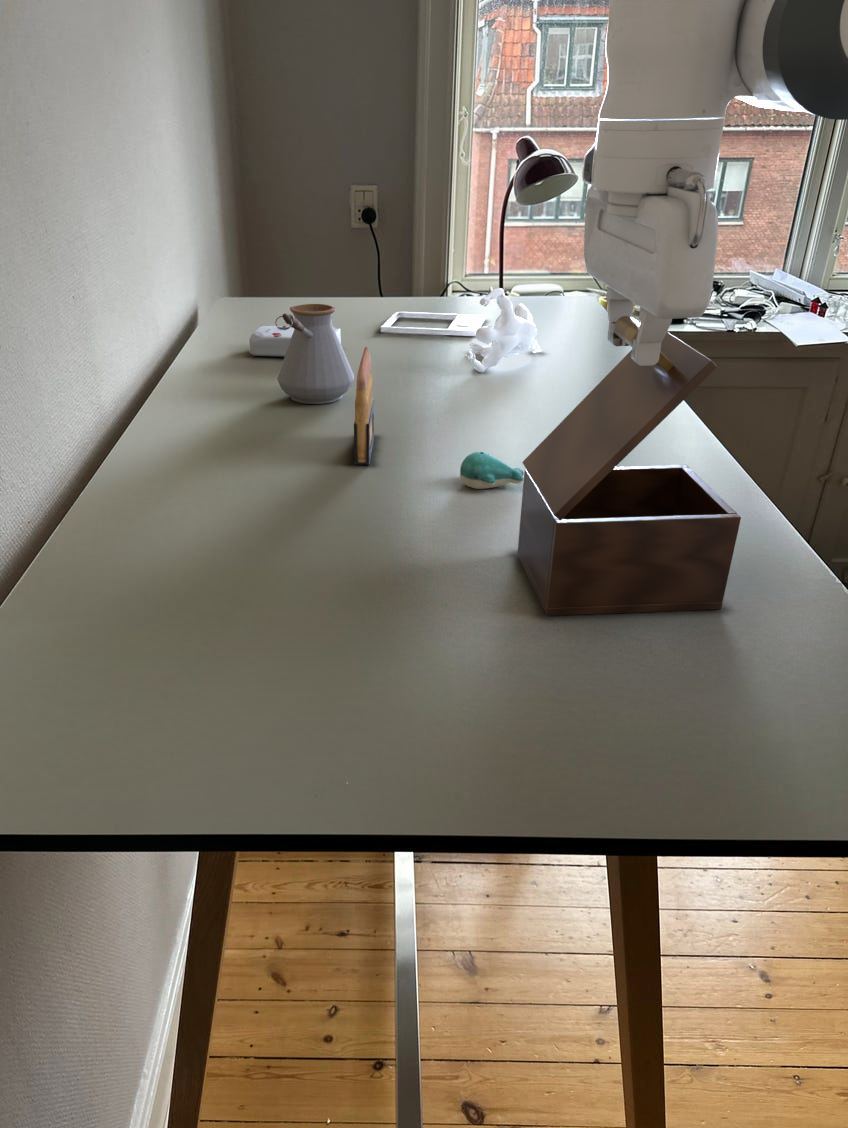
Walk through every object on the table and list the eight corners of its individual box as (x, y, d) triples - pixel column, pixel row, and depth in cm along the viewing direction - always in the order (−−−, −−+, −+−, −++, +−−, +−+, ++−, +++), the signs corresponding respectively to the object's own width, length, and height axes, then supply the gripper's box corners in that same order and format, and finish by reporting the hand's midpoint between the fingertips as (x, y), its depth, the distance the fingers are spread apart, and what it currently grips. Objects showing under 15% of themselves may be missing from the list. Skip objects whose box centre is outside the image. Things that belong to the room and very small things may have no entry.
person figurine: (483, 284, 158) (484, 283, 141) (555, 303, 157) (564, 304, 141) (462, 361, 162) (461, 369, 146) (532, 379, 162) (539, 389, 145)
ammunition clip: (369, 465, 113) (368, 366, 106) (354, 465, 113) (352, 366, 107) (374, 437, 122) (374, 345, 116) (360, 437, 122) (359, 344, 116)
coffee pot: (290, 384, 144) (285, 283, 136) (361, 388, 142) (360, 286, 134) (248, 426, 126) (239, 313, 118) (329, 431, 124) (326, 316, 116)
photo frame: (475, 330, 170) (380, 325, 174) (474, 336, 171) (380, 331, 175) (485, 314, 183) (396, 310, 186) (484, 319, 183) (396, 316, 187)
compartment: (671, 548, 92) (686, 464, 87) (721, 609, 81) (741, 517, 76) (517, 554, 91) (524, 469, 86) (546, 616, 80) (556, 523, 75)
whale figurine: (462, 474, 110) (463, 443, 108) (523, 477, 109) (526, 446, 107) (457, 491, 105) (458, 460, 103) (522, 495, 104) (524, 463, 102)
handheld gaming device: (261, 345, 166) (260, 324, 164) (341, 348, 164) (340, 326, 162) (248, 358, 159) (246, 336, 157) (331, 361, 157) (330, 338, 155)
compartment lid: (661, 330, 80) (623, 289, 78) (718, 367, 70) (675, 321, 68) (527, 467, 86) (488, 432, 84) (560, 520, 75) (516, 482, 73)
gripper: (756, 172, 59) (718, 386, 66) (652, 154, 77) (630, 325, 84) (660, 175, 59) (633, 390, 66) (577, 156, 76) (562, 327, 84)
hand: (631, 353), depth 75 cm, fingers closed on compartment lid, 5 cm apart
